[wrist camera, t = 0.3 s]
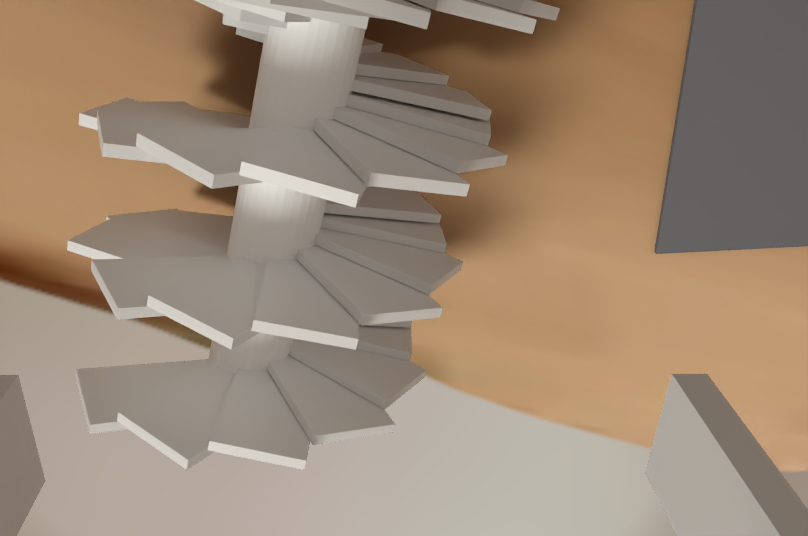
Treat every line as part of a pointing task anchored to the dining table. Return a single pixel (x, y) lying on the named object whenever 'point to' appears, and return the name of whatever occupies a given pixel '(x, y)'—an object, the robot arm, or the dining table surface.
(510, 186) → the dining table surface
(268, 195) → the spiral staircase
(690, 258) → the dining table surface
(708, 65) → the mat
